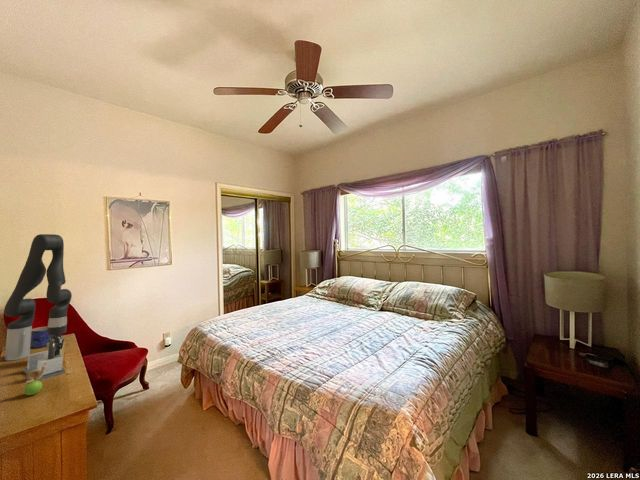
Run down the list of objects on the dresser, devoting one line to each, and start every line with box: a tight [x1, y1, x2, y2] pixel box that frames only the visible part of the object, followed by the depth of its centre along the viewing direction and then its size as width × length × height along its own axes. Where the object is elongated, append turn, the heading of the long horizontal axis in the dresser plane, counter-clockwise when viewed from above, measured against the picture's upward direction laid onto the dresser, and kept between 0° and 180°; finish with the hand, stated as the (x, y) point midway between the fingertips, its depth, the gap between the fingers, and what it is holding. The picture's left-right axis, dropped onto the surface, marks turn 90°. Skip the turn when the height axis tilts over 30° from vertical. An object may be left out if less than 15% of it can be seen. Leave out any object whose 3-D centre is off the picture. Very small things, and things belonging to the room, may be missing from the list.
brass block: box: [46, 340, 66, 358], centre depth 143 cm, size 4×6×10 cm, turn 152°
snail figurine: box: [22, 362, 47, 396], centre depth 109 cm, size 5×6×12 cm
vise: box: [22, 349, 66, 381], centre depth 128 cm, size 18×10×8 cm, turn 62°
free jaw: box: [37, 342, 64, 375], centre depth 125 cm, size 4×8×14 cm, turn 152°
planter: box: [30, 325, 51, 349], centre depth 163 cm, size 11×11×11 cm
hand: (55, 355), depth 142 cm, fingers closed on brass block, 4 cm apart
